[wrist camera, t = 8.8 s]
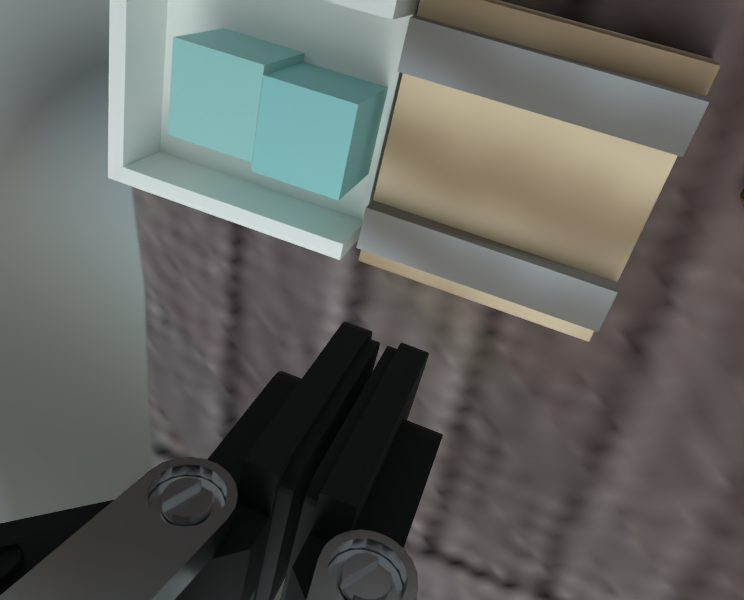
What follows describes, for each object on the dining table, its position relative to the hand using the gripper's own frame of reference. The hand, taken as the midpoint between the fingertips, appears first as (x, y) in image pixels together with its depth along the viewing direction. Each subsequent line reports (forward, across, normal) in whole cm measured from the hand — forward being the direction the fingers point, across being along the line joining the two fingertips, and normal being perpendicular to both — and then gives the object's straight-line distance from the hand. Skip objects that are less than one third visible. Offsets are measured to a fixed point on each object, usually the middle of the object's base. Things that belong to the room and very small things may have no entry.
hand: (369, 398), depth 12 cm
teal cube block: (+18, +8, +1) cm, 20 cm away
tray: (+19, +11, +1) cm, 22 cm away
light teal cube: (+18, +12, +1) cm, 22 cm away
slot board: (+19, -1, 0) cm, 19 cm away
